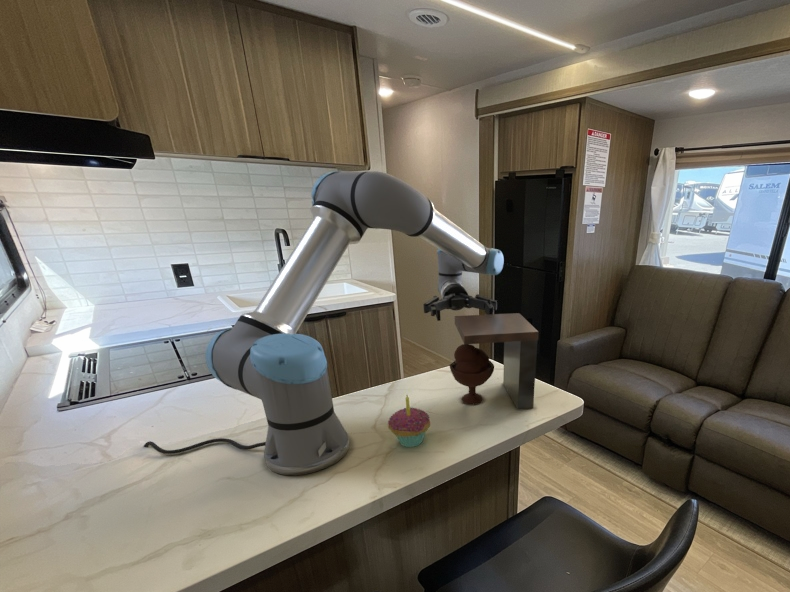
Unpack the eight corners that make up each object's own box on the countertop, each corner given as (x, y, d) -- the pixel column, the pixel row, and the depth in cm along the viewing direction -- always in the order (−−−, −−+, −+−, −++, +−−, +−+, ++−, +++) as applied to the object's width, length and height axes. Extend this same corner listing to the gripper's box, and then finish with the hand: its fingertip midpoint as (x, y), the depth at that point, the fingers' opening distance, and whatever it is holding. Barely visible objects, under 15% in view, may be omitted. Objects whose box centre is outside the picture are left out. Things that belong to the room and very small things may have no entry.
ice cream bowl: (475, 414, 96) (475, 355, 90) (442, 400, 102) (439, 345, 96) (502, 398, 104) (503, 343, 97) (469, 386, 110) (468, 334, 104)
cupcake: (433, 449, 82) (430, 397, 77) (390, 455, 80) (384, 402, 75) (428, 427, 90) (425, 379, 85) (389, 432, 88) (384, 383, 83)
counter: (465, 416, 95) (464, 335, 87) (456, 387, 109) (454, 316, 101) (533, 409, 99) (538, 331, 91) (516, 382, 113) (519, 313, 105)
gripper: (494, 305, 126) (511, 325, 108) (413, 309, 121) (417, 330, 102) (494, 282, 123) (512, 298, 104) (411, 284, 118) (415, 301, 99)
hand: (465, 314), depth 103 cm, fingers open, 13 cm apart
